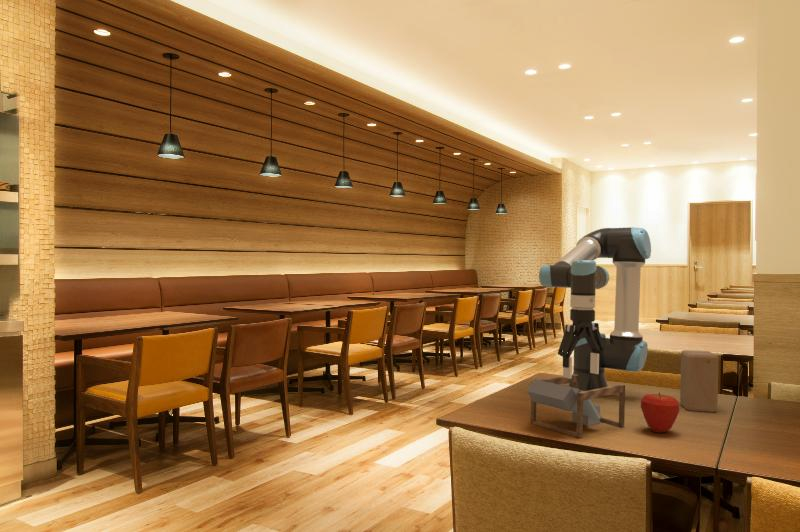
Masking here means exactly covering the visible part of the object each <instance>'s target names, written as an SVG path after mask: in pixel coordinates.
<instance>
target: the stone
mask: <svg viewBox="0 0 800 532" xmlns="http://www.w3.org/2000/svg"><path fill="white" fill-rule="evenodd" d="M593 404H594V406H595V408H596V409H597V411H598V413H599V414H600V415H601V404H598V403H594V402H593ZM571 414H572V415H571V416H572V423H575V424H577V413H574V412H573V413H572V412H571ZM600 423H601V421H600V419H596V418H592V417H589V416H585V415H583V426H586V427H591V426H595V425H600Z"/></svg>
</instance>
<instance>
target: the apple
mask: <svg viewBox="0 0 800 532" xmlns="http://www.w3.org/2000/svg"><path fill="white" fill-rule="evenodd" d="M640 409H641V411H642V415H643V417H644V420H645V422H646V424H647V427H649V428H650V430H651V431H652V432H654V433H666V432H668V431H669V430H671V429H672V427H674V424H675V422H676V421H677V418H678V415H679V413H680V401H678V400H677V399H676V398H675V397H673V396H671V395H665V394H661V393H660V391H659V392H658V394H656V393H648V394H644V395H643V397H641V399H640Z"/></svg>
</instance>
